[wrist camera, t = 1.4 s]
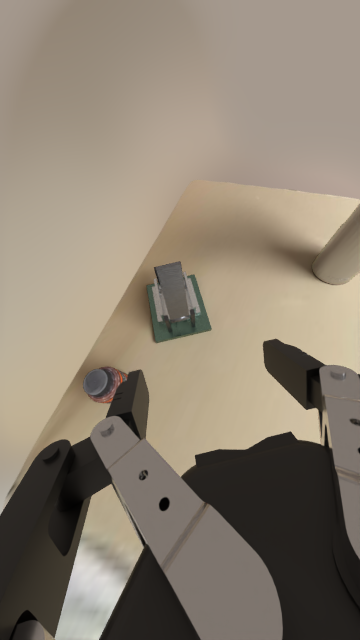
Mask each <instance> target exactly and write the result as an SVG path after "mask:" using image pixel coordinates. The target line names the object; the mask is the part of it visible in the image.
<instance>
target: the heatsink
mask: <svg viewBox="0 0 360 640" xmlns="http://www.w3.org/2000/svg"><path fill="white" fill-rule="evenodd" d="M180 264H181V262H180ZM181 269H182V268H181ZM154 270H155V273H156V276H157V279H158V283H157V280H156V279H154V283H155V284H151V285H147V291H148V297H149V304H150V310H151V316H152V322H153V328H154V334H155V340H156V343H159V342H163V341H168V340H172V339H176V338H181V337H185V336H189V335H193V334H198V333H202V332H206V331H211V326H210V322H209V319H208V316H207V313H206V310H205V306H204V303H203V300H202V297H201V294H200V291H199V287H198V284H197V281H196V278H195V275H190V276H187V275H186V272H183V276H184V277H183V281H184V287H185V293H186V299H187V304H188V310H189V316H190V319H188V320H184V321H180V322H175V323H171V321H170V317H169V314H168V310H167V307H166V303H165V299H164V296H163V292H162V289H161V285H160V281H159V278H158V274H157V271H156V267H154Z"/></svg>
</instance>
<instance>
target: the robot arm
mask: <svg viewBox="0 0 360 640" xmlns="http://www.w3.org/2000/svg"><path fill="white" fill-rule="evenodd" d="M312 270H313V272H314V274H315V275H316V276H317V277H318V278H319V279H320V280H322V281H324V282H326V283H329V284H335V285H340V284H345V283H347V282H349V281H350V280H351V279H352V278H354V277H355V276H356V275H357V274H358V273H360V204H359V205H358V207H357V208H356V209H355V210H354V212H353V213H352V214H351V215H350V217H349V218H348V219H347V220H346V222H345V223H344V224H342V225H341V226H340V228H339V229H338V230H337V232H336V233H335V234H334V235H333V237H332V238H331V239H330V240H329V242H328V243H327V244H326V245H325V247H324V248H323V249H322V251H321V252H320V253H319V254H318V257H317V258H316V259H315V261H314V262H313V264H312ZM263 351H264V363H265V367H266V369H267V371H268V372H269V373H270V374H271V375H272V376H273V377H274V378H275V379H276V380H277V381H278V382H279V383H280V384H281V385H282V386H283V387H284V388H285V389H286V390H287V391H288V392H289V393H290V394H291V395H292V396H293V397H294V398H295V399H296V400H297V401H298V402H299V403H300V404H301V405H302V406H303V407H304V408H305V409H306V410H308V409H312V408H317V409H318V420H319V431H320V441H321V444H317V443H314V442H309V441H303V440H297V439H296V438H295V436H294V435H293V434H292V432H287V433H283V434H279V435H275V436H271V437H267V438H266V439H264V440H262V441H260V442H259V443H257V444H255V445H254V446H252V447H250V448H249V449H246V450H222V449H219V450H214V451H210V452H206V453H202V454H198V455H195V459H196V465H195V466H193V467H191V468H190V469H189V470H188V471H186V472H185V473H184V474H183V475H182V476H181V477H180V476H179V475H178V474H177V473H176V472H175V471H174V470H173V469H172V468H171V466H170V465H169V464H168V463H167V462H166V461H165V460H164V459H163V458H162V457H161V456H160V454H159V453H158V452H157V451H156V450H155V449H154V448H153V447H152V446H151V445H150V444H149V443H148V441H147V440H146V428H147V418H148V407H149V392H148V388H147V385H146V382H145V378H144V375H143V372H142V370H137V371H132V372H129V374H128V377H127V381H124V382H122V383H121V384H120V385H119V386H118V387H117V389H116V391H115V395H114V397H113V401H112V402H111V405H110V408H109V410H108V413H107V416H106V418H105V419H104V420H102V421H101V422H99V423H98V424H97V425H96V426H95V427H94V429H93V430H92V432H91V435H90V437H88V438H87V439H85V440H83V441H81V442H79V443H77V444H75V445H73V446H71V444H70V442H69V441H68V440H65V439H64V440H59V441H56V442H54V443H52V444H50V445H49V446H47V447H46V448H45V449H43V450H42V451H41V452H40V453H39V454H38V455H37V457H36V458H35V459H34V461H33V463H32V464H31V466H30V467H29V469H28V471H27V472H26V474H25V476H24V477H23V479H22V481H21V482H20V484H19V486H18V487H17V489H16V490H15V492H14V494H13V495H12V497H11V499H10V500H9V502H8V504H7V505H6V507H5V509H4V510H3V512H2V513H1V515H0V640H55V639H54V638H55V634H56V630H57V626H58V622H59V619H60V615H61V611H62V607H63V603H64V599H65V596H66V592H67V588H68V584H69V580H70V576H71V573H72V569H73V565H74V561H75V557H76V553H77V549H78V546H79V542H80V538H81V534H82V530H83V526H84V523H85V519H86V515H87V511H88V507H89V503H90V499H91V496H92V495H93V494H95V493H96V492H98V491H100V490H101V489H103V488H105V487H106V486H108V485H110V484H111V485H112V487H113V488H114V490H115V492H116V494H117V496H118V498H119V500H120V502H121V504H122V506H123V508H124V510H125V512H126V514H127V516H128V518H129V520H130V522H131V524H132V526H133V528H134V530H135V532H136V534H137V536H138V538H139V540H140V542H141V544H142V546H143V548H144V549H143V551H142V553H141V555H140V557H139V559H138V561H137V563H136V565H135V567H134V569H133V571H132V573H131V575H130V577H129V579H128V581H127V583H126V585H125V587H124V590H123V592H122V594H121V596H120V598H119V600H118V602H117V604H116V606H115V608H114V610H113V612H112V614H111V616H110V618H109V620H108V622H107V624H106V626H105V628H104V630H103V632H102V635H101V637H100V639H99V640H360V374H357V373H356V372H354V371H353V370H351V369H349V368H346V367H343V366H338V365H325V364H323V363H321V362H320V361H318V360H316V359H315V358H313V357H312V356H310V355H308V354H307V353H305V352H302V350H300V349H298V348H297V347H294V346H291V345H288V344H284V343H282V342H281V341H279V340H278V339H273V340H268V341H264V343H263Z"/></svg>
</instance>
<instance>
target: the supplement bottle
mask: <svg viewBox="0 0 360 640" xmlns="http://www.w3.org/2000/svg"><path fill="white" fill-rule="evenodd" d="M127 377H128V375H127V374H125V373H123V372H121V371H119V370H117V369H115V368H112V367H101V368H99V369H95V370H92V371H91V372H89V373H88V374H87V375H86V377H85V379H84V382H83V388H84V390H85V392H86V393H87V394H88V396H89V397H90V398H91V399H92V400H93V401H95V402H99V403H111V402H112V401H113V397H114V395H115V391H116V389H117V387H118V386H119V385H120V384H121V383H122V382H124V381H127Z"/></svg>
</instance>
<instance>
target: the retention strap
mask: <svg viewBox="0 0 360 640" xmlns="http://www.w3.org/2000/svg"><path fill="white" fill-rule="evenodd" d="M156 271H157V274H158V278H159V281H160V285H161V289H162V292H163V296H164V299H165V303H166V307H167V310H168V314H169V317H170V321H171V323H175V322H180V321H184V320H188V319H190V316H189V310H188V304H187V299H186V293H185V287H184V281H183V275H182V269H181V264H180V261H179V262H175V263H171V264H166V265H162V266H158V267H156Z"/></svg>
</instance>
